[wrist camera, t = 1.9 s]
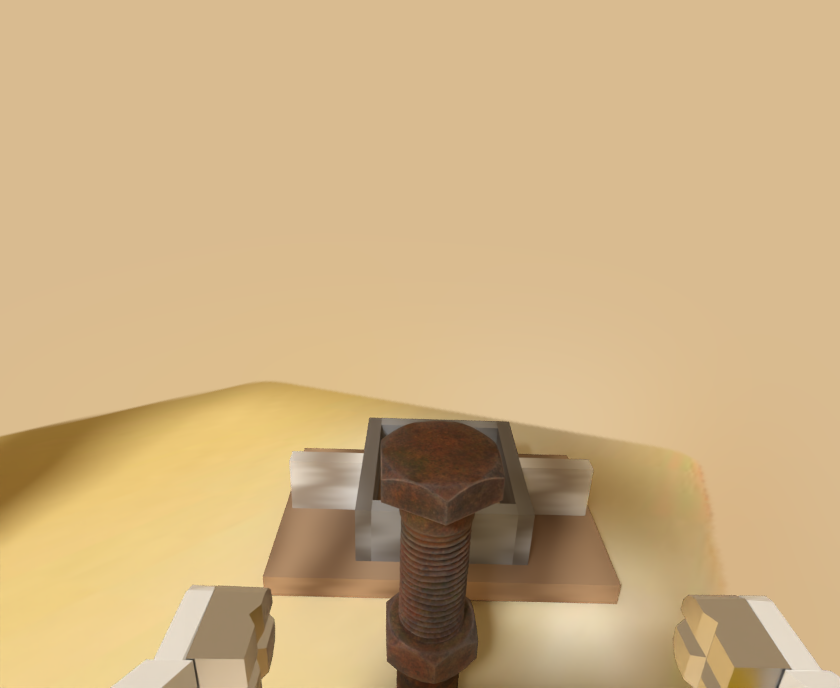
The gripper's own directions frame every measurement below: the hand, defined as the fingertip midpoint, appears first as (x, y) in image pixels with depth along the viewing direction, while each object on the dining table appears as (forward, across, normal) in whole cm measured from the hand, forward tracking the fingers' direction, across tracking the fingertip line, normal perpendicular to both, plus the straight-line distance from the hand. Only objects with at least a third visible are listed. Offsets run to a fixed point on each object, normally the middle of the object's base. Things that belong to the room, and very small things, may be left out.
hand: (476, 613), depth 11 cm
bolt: (+12, 0, +20) cm, 23 cm away
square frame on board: (+25, -1, +19) cm, 32 cm away
